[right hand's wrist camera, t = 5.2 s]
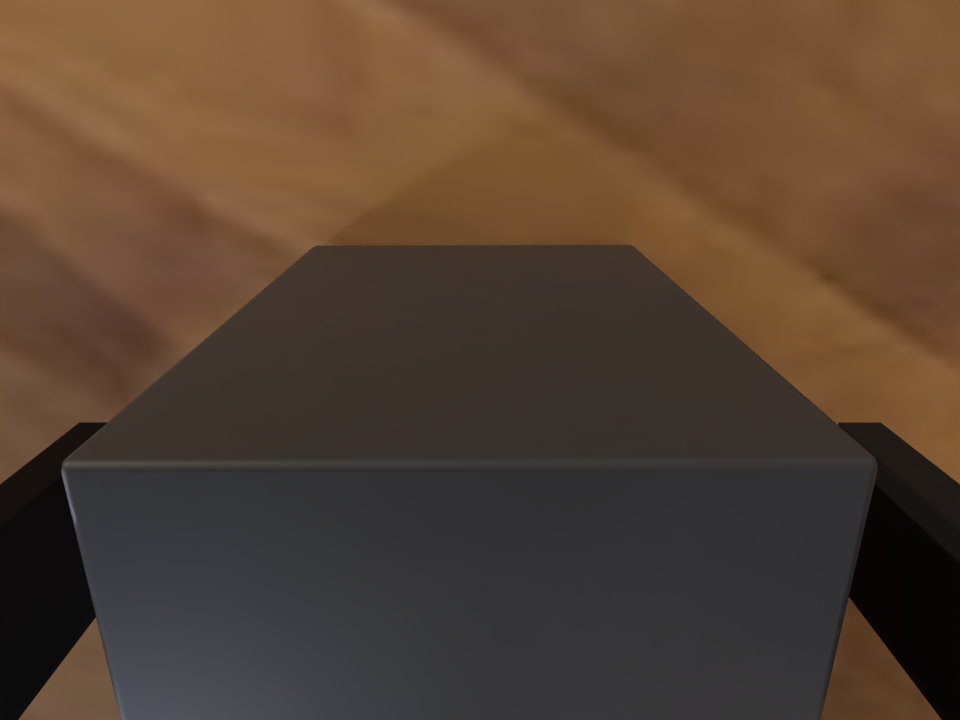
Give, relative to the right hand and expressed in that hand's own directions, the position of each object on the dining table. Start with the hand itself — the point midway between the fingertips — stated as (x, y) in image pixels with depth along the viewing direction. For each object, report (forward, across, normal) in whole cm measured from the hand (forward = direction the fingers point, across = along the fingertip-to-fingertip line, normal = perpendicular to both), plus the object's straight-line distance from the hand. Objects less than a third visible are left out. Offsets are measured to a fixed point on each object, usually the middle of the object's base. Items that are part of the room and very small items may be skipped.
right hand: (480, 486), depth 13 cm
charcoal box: (+3, 0, +12) cm, 12 cm away
